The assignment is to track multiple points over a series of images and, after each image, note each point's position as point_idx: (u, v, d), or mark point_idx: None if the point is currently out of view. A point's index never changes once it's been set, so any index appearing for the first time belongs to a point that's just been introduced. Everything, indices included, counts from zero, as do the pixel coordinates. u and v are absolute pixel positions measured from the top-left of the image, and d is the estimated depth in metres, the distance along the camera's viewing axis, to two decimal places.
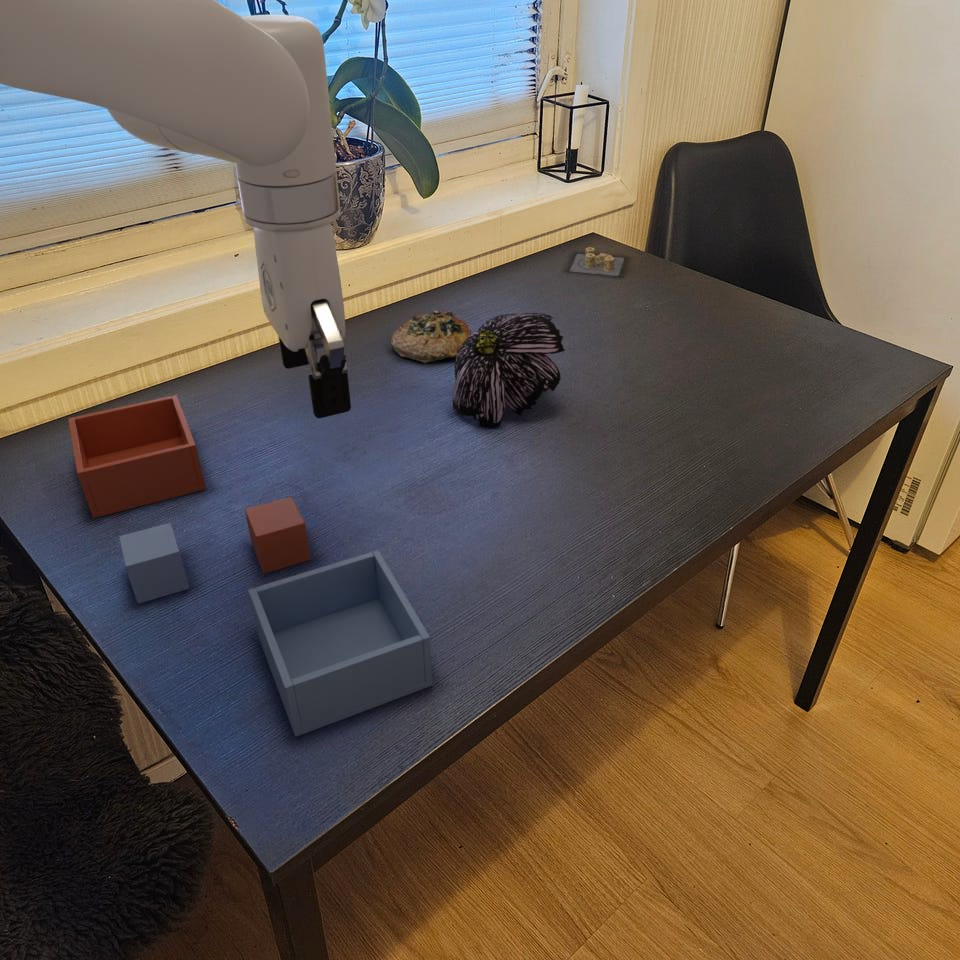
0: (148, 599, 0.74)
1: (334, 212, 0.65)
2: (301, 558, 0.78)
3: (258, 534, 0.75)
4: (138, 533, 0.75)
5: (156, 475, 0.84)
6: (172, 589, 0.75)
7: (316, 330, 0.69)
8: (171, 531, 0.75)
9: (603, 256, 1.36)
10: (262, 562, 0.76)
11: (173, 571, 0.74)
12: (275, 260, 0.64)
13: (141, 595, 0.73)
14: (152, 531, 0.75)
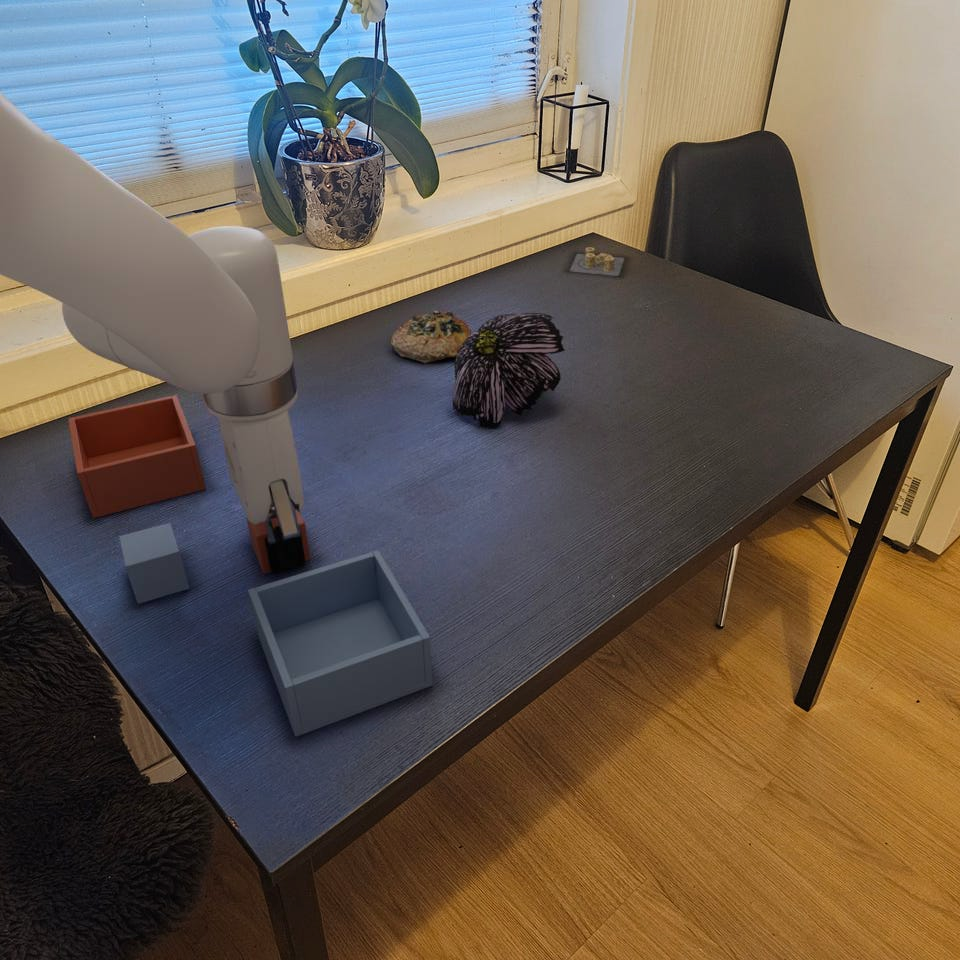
0: (148, 599, 0.74)
1: (291, 399, 0.68)
2: None
3: (258, 534, 0.75)
4: (138, 533, 0.75)
5: (156, 475, 0.84)
6: (172, 589, 0.75)
7: None
8: (171, 531, 0.75)
9: (603, 256, 1.36)
10: (262, 562, 0.76)
11: (173, 571, 0.74)
12: (234, 446, 0.67)
13: (141, 595, 0.73)
14: (152, 531, 0.75)
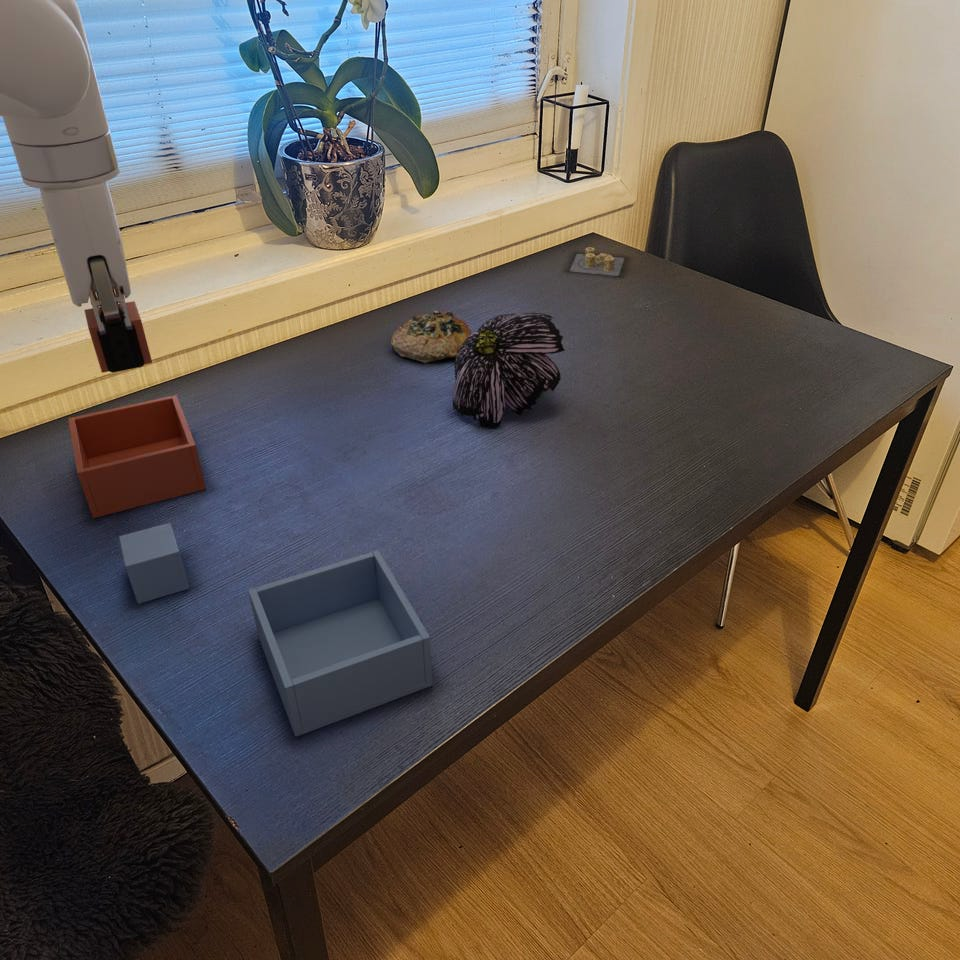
0: (148, 599, 0.74)
1: (107, 172, 0.68)
2: None
3: (91, 327, 0.75)
4: (138, 533, 0.75)
5: (156, 475, 0.84)
6: (172, 589, 0.75)
7: None
8: (171, 531, 0.75)
9: (603, 256, 1.36)
10: (99, 359, 0.76)
11: (173, 571, 0.74)
12: (49, 217, 0.67)
13: (141, 595, 0.73)
14: (152, 531, 0.75)
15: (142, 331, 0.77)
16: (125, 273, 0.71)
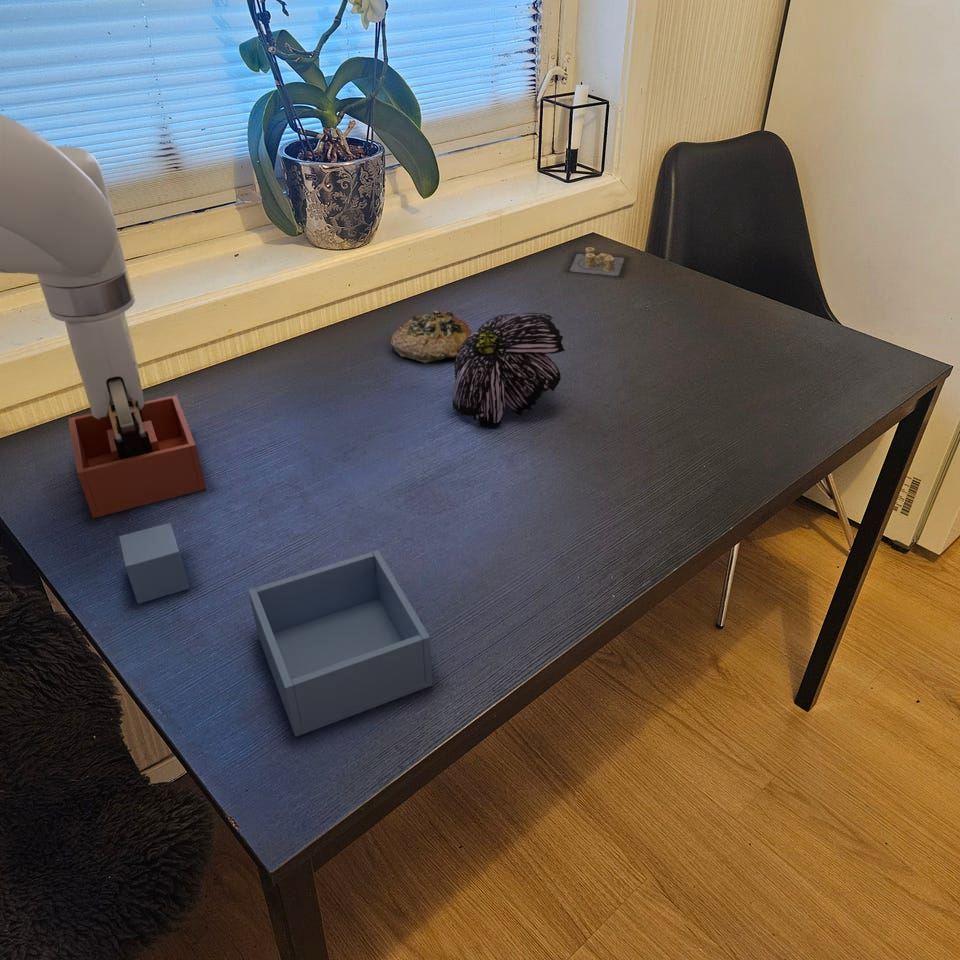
0: (148, 599, 0.74)
1: (124, 304, 0.77)
2: None
3: (113, 450, 0.84)
4: (138, 533, 0.75)
5: (156, 475, 0.84)
6: (172, 589, 0.75)
7: None
8: (171, 531, 0.75)
9: (603, 256, 1.36)
10: None
11: (173, 571, 0.74)
12: (73, 345, 0.76)
13: (141, 595, 0.73)
14: (152, 531, 0.75)
15: (158, 450, 0.86)
16: (139, 389, 0.80)
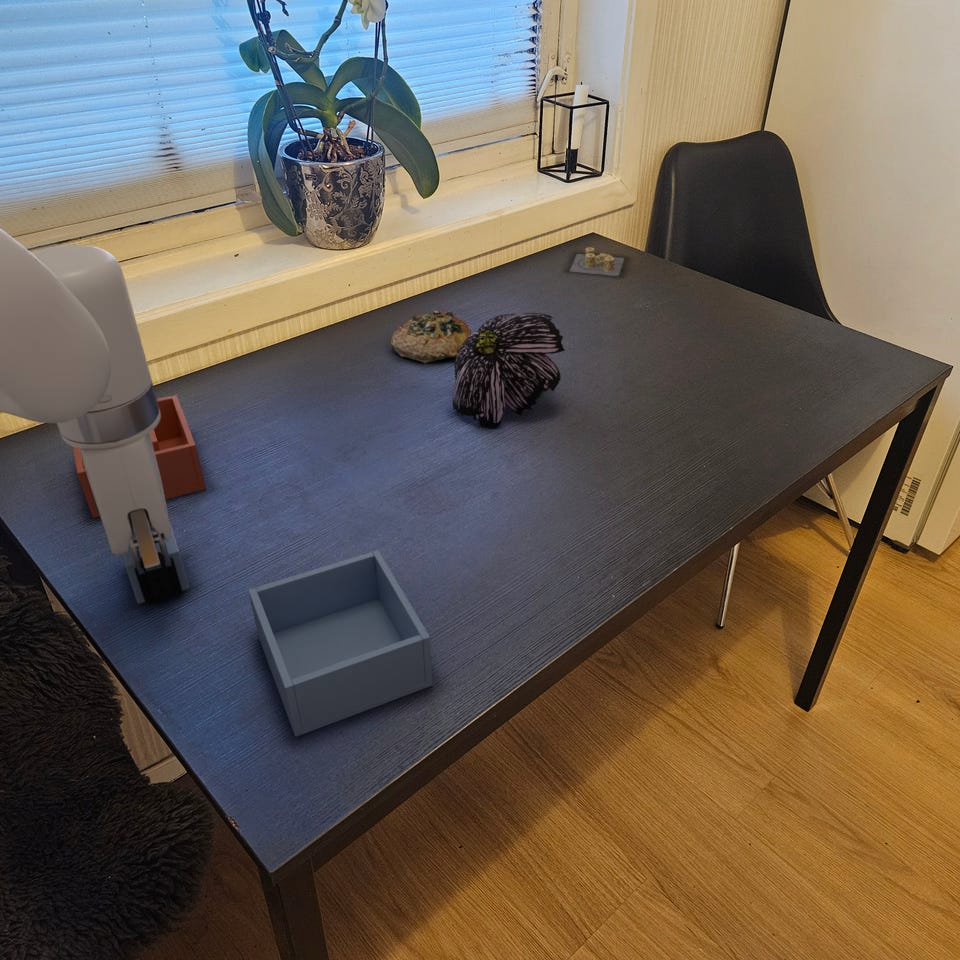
0: None
1: (149, 425, 0.65)
2: None
3: None
4: None
5: None
6: None
7: None
8: (171, 531, 0.75)
9: (603, 256, 1.36)
10: None
11: None
12: (88, 475, 0.64)
13: (141, 595, 0.73)
14: (152, 531, 0.75)
15: (158, 450, 0.86)
16: (166, 520, 0.68)
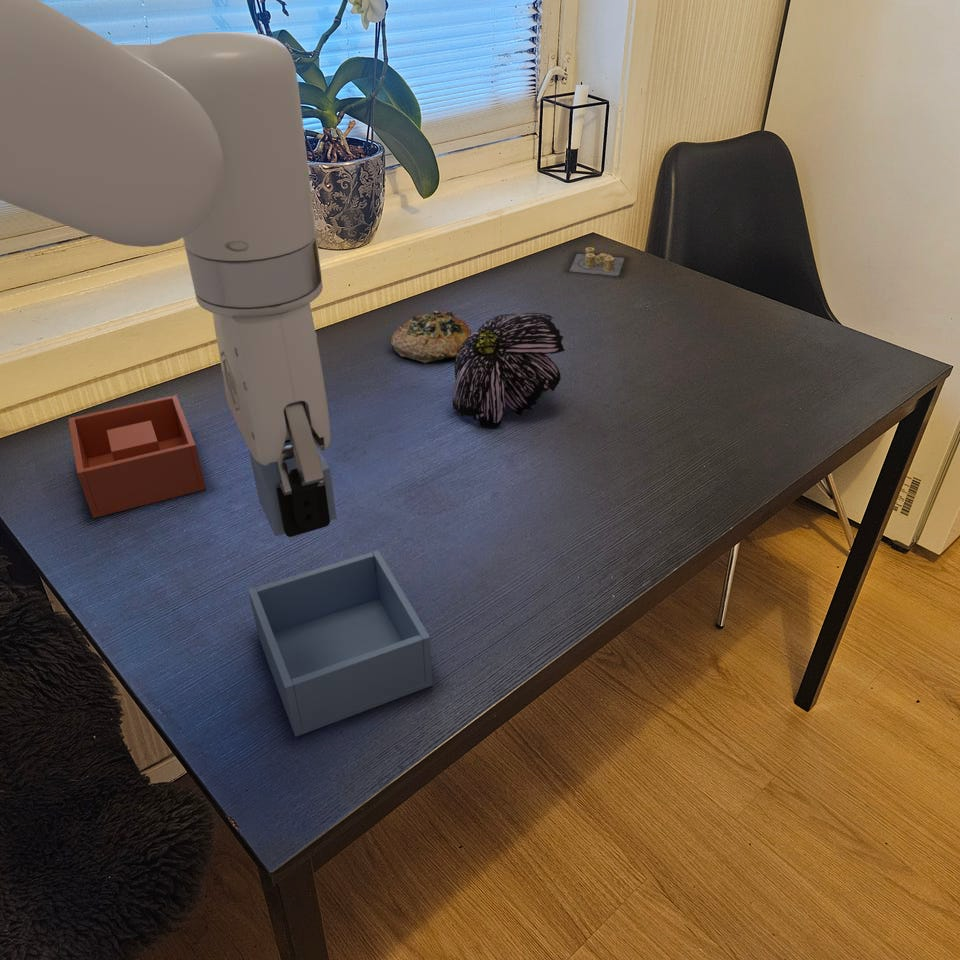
0: None
1: (314, 289, 0.49)
2: None
3: (113, 450, 0.84)
4: None
5: (156, 475, 0.84)
6: None
7: None
8: None
9: (603, 256, 1.36)
10: None
11: None
12: (236, 354, 0.49)
13: (280, 525, 0.58)
14: None
15: (158, 450, 0.86)
16: (328, 420, 0.52)
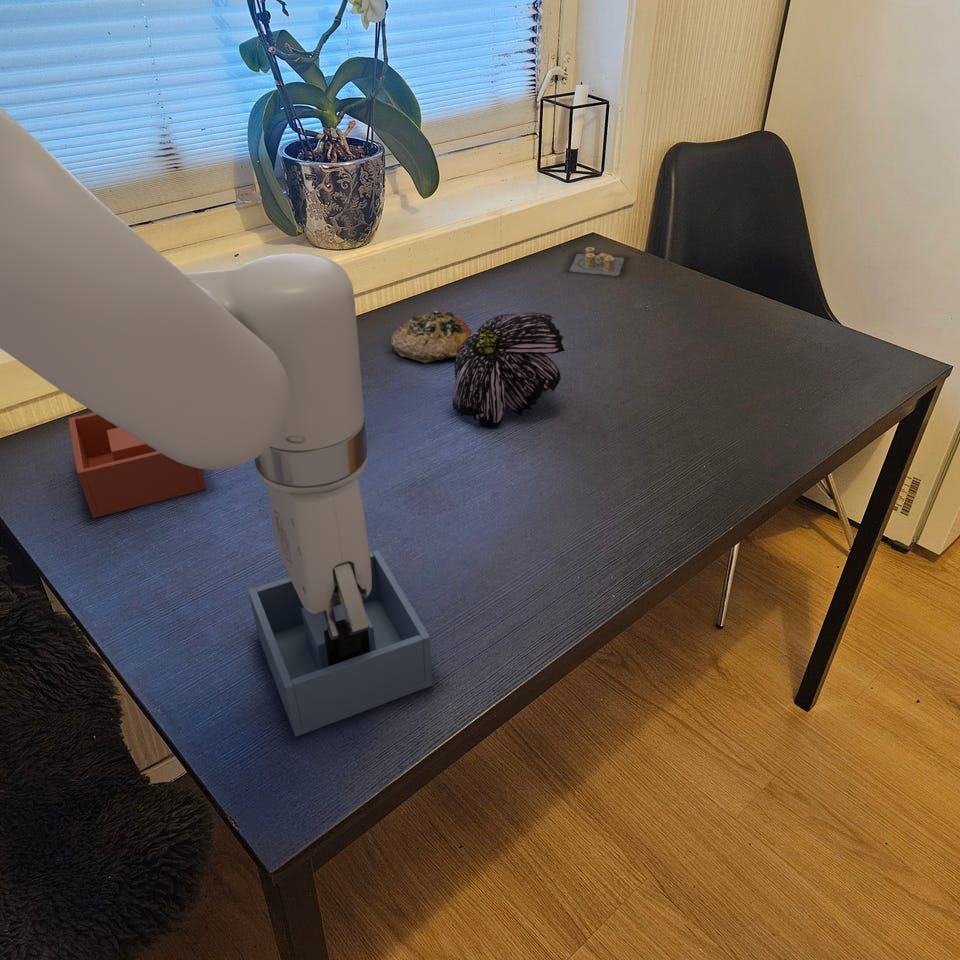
0: None
1: (361, 464, 0.55)
2: None
3: (113, 450, 0.84)
4: None
5: (156, 475, 0.84)
6: None
7: None
8: None
9: (603, 256, 1.36)
10: None
11: None
12: (292, 523, 0.55)
13: None
14: None
15: None
16: (370, 573, 0.58)
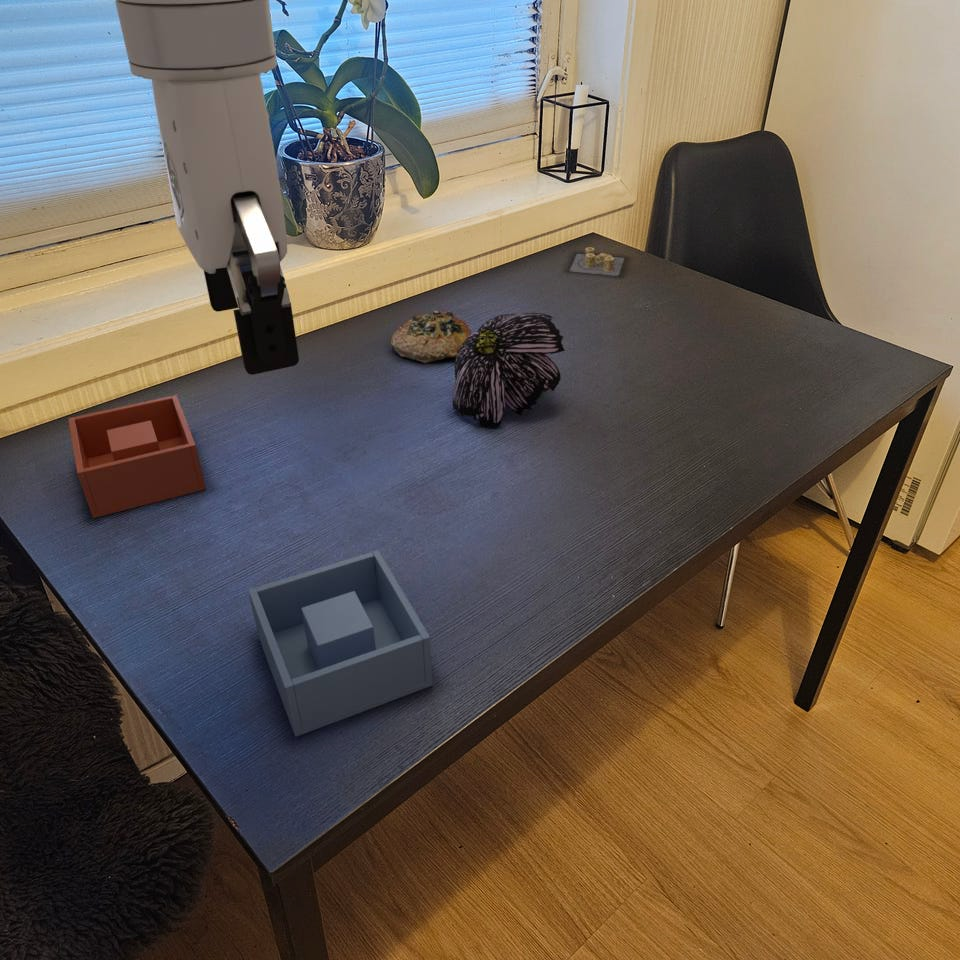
0: None
1: (265, 59, 0.43)
2: None
3: (113, 450, 0.84)
4: (322, 604, 0.67)
5: (156, 475, 0.84)
6: None
7: (244, 244, 0.47)
8: (358, 601, 0.67)
9: (603, 256, 1.36)
10: None
11: (365, 647, 0.65)
12: (175, 129, 0.42)
13: None
14: (337, 601, 0.67)
15: (158, 450, 0.86)
16: (283, 222, 0.46)
